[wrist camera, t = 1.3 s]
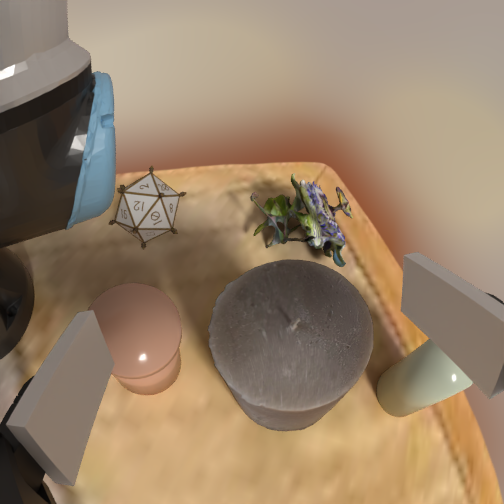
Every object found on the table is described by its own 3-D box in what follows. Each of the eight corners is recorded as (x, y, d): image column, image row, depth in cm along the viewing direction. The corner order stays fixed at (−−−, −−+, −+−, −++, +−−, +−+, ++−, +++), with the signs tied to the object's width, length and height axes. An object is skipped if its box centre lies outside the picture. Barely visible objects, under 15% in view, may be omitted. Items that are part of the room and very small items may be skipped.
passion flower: (310, 268, 46) (371, 264, 35) (241, 274, 41) (294, 271, 30) (303, 192, 46) (360, 169, 36) (235, 188, 42) (283, 157, 31)
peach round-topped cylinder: (95, 347, 28) (69, 309, 22) (158, 313, 32) (149, 268, 26) (133, 413, 25) (111, 394, 19) (200, 372, 29) (201, 341, 23)
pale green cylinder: (366, 391, 30) (420, 356, 22) (396, 357, 33) (448, 315, 25) (400, 427, 27) (462, 403, 20) (428, 391, 30) (486, 357, 22)
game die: (150, 238, 43) (158, 165, 40) (193, 254, 38) (204, 171, 36) (94, 244, 35) (101, 161, 33) (134, 264, 31) (143, 164, 29)
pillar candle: (347, 354, 30) (395, 270, 18) (315, 446, 24) (354, 433, 13) (257, 325, 32) (246, 227, 21) (216, 410, 27) (169, 364, 15)
